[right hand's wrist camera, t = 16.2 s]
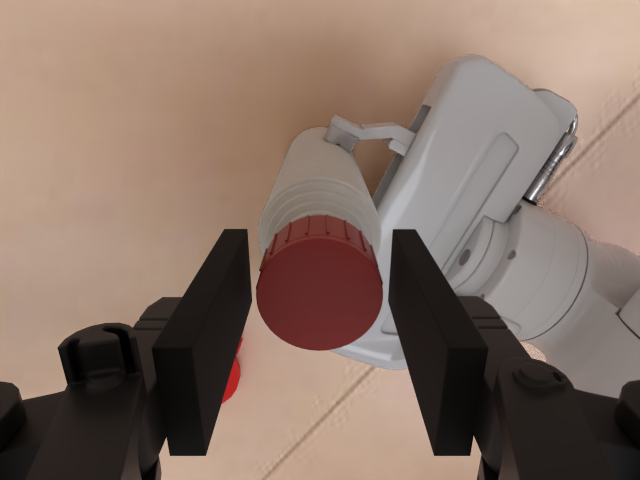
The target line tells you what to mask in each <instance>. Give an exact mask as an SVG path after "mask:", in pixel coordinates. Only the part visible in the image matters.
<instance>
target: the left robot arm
mask: <svg viewBox="0 0 640 480" xmlns="http://www.w3.org/2000/svg"><path fill="white" fill-rule="evenodd" d="M577 126H578V115H577V110H576V108H575V107H574V105H573V104H572V103H571V102H570V101H568V100H567V99H565V98H563V97H561V96H559V95H558V94H556V93H554V92H552V91H550V90H547V89H543V88H536V89H530V88H529V87H527V86H526V85H525V84H524V83H522V82H521V81H520V80H519V79H517V78H516V77H515V76H513V75H512V74H510V73H509V72H507V71H506V70H505V69H503V68H502V67H500V66H498V65H497V64H495V63H494V62H492V61H490V60H489V59H487V58H485V57H483V56H480V55H474V54H468V55H463V56H460V57H456V58H454V59H451V60H448V61H446V62H445V63H444V64H443V65H442V66H441V68H440V70H439V72H438V74H437V76H436V78H435V79H434V81H433V83H432V85H431V87H430V89H429V91H428V93H427V95H426V96H425V98H424V100H423V102H422V104H421V106H420V108H419V110H418V112H417V113H416V115H415V117H414V119H413V121H412V123H411V125H410V127H409V128H408V129H407V128H405V127H402V126H400V125H398V124H396V123H394V122H382V123H372V124H361V126H358V125H356V124H354V123H352V122H350V121H348V120H346V119H344V118H342V117H340V116H338V115H335V114H334V115H333V118H332V120H331V122H330V124H329V126H328V129H327V131H326V133H325V135H324V139H325V140H326V141H328V142H330V143H333V144H339V145H340V147H342V148H343V149H345V150H347V151H349V152H352V150H353V148H354V146H355V144H356V142H357V140H372V139H384V140H383V141H384V144H385V145H386V146H387V147H388V148H389V149H391V150H393V151H395V152H396V153H395V155H394V157H393V159H392V161H391V162H390V164H389V166H388V168H387V170H386V172H385V174H384V176H383V178H382V179H381V181H380V183H379V185H378V187H377V189H376V191H375V193H374V195H373V196H372V198H371V199H372V201H373V203H374V206H375V208H376V211H377V213H378V216H379V219H380V223H381V230H382V238H381V246H380V250H379V253H378V255H377V258H376V260H377V263H378V266H379V267H378V268H379V271H380V275H381V278H382V281H383V285H382V287H383V301H382V307H381V310H380V313H379V315H378V317H377V319H376V321H375V322H374V324H373V325H372V327H371V328H370V329H369V330H368V331H367V332H366V333H365V334H364V335H363V336H362V337H360V338H359V339H357V340H356V341H354V342H352V343H350V344H348V345H346V346H343V347H340V348H336V349H331V350H330V351H332V352H334V353H337V354H339V355H342V356H345V357H347V358H350V359H353V360H356V361H359V362H362V363H366V364H369V365H372V366H376V367H380V368H384V369H390V370H403V369H407V368H408V366H407V363H406V360H405V356H404V353H403V350H402V346H401V343H400V340H399V336H398V333H397V330H396V326H395V323H394V320H393V316H392V313H391V310H390V306H389V303H388V293H389V277H390V262H391V247H392V232H393V229H416V231H417V232H418V234H419V236H420V237H421V239H422V240H423V242H424V244H425V245H426V247H427V249H428V250H429V252H430V253H431V255H432V257H433V258H434V260H435V262H436V263H437V265H438V266H439V268H440V270H441V271H442V273H443V275H444V276H445V278H446V279H447V281H448V283H449V284H450V286H451V288H452V289H453V291H454V292H455V294H456V296H478V297H480V298H481V299H483V300H484V301H486V302H487V303H489V304H491V305H492V306H493V307H494V309H495V310H496V311H497V313H498V314H499V315H500V317H501V319H503V321H504V322H505V323H506V325H507V326H508V329H510V330H511V331H512V333H513V334H514V335H515V337H516V338H517V339H518V341H519V342H525V343H528V344H531V345H533V346H535V347H536V348H538V349H539V350H540V351H541V352H542V353H543V354H544V355H545V357H546V362H545V363H547V364H550V365H552V366H554V367H556V368H557V369H558V370H560V371H561V372H562V373H564V374H565V375H566V376H567V377H568V379H569V380H570V381H571V383H572V384H573V386H574V389H578V390H581V391H585V392H590V393H594V394H599V395H604V396H609V397H614V398H619V395H620V392H621V389H622V386H624V385H625V384H626V383H627V382H628V381H635V380H640V256H638V255H636V254H634V253H632V252H630V251H628V250H626V249H624V248H622V247H619V246H616V245H612V244H607V243H600V242H596V241H594V240H593V239H591V238H590V237H589V235H588V234H587V233H586V232H585V231H583V230H582V229H581V228H580V227H578V226H577V225H575V224H573V223H571V222H570V221H567V220H565V219H563V218H561V217H559V216H557V215H555V214H553V213H551V212H549V211H547V210H545V209H543V208H541V207H539V206H537V204H536V203H537V202H538V200H539V199H540V197H541V196H542V194H543V193H544V191H545V190H546V188H547V187H548V185H549V184H550V182H551V181H552V179H553V178H552V177H554V175H555V173H556V171H557V169H558V168H559V166H560V164H561V163H562V162H563V160H564V159H565V158H567V157H568V156H569V154H570V153H571V152H572V150H573V148H574V147H575V145H576V142H577V140H578V138H577V137H576V136H574V135H575V132H576V130H577ZM568 127H569V130H568V133H567V132H566V130H567V129H568Z"/></svg>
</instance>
